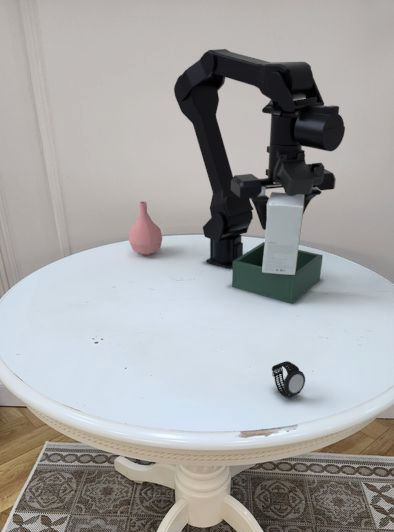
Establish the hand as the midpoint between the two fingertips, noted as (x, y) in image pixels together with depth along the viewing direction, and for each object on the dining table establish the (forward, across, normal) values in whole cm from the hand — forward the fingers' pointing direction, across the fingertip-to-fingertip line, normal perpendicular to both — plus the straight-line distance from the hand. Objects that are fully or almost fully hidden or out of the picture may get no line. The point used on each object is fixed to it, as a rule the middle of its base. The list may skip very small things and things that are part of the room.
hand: (280, 227), depth 103 cm
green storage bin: (+12, 0, 0) cm, 12 cm away
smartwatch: (+12, -13, -35) cm, 39 cm away
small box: (+6, -1, -4) cm, 8 cm away
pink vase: (+12, -22, +24) cm, 35 cm away
